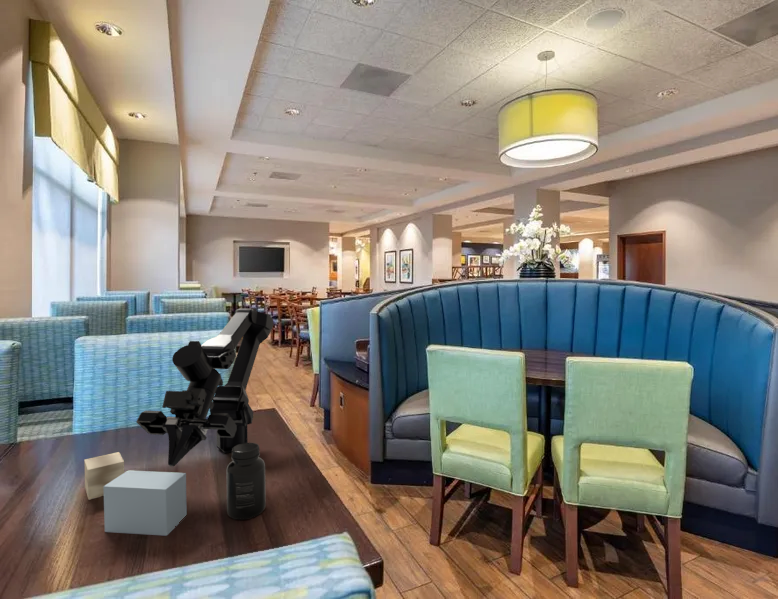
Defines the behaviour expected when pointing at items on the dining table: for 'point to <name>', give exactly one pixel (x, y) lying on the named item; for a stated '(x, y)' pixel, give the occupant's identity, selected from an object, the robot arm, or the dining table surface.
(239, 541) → the dining table surface
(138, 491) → the gray block
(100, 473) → the birch cube
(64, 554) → the dining table surface
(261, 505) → the supplement bottle
